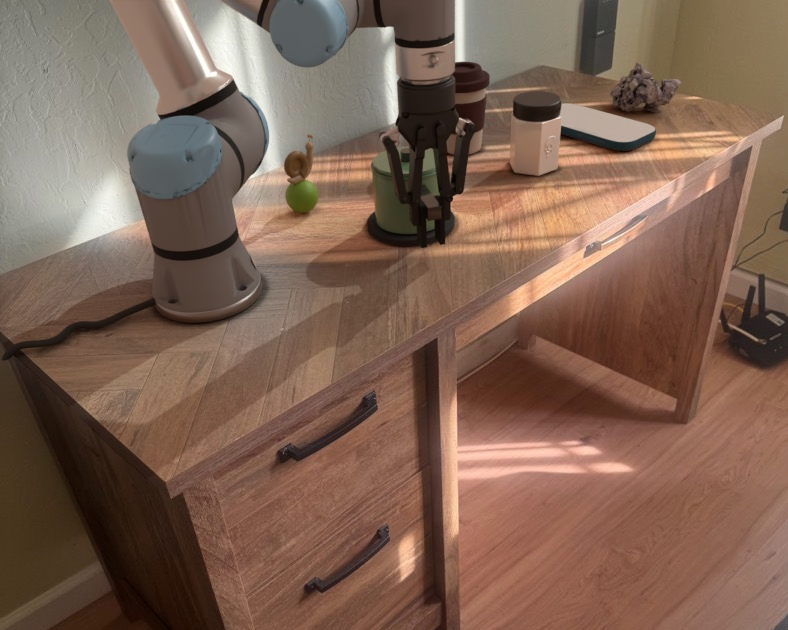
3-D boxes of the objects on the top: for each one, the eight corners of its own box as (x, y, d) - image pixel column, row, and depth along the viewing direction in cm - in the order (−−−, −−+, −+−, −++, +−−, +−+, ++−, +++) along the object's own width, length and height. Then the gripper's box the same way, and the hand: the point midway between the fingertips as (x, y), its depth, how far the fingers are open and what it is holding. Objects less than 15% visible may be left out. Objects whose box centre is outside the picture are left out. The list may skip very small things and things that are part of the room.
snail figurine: (331, 207, 129) (322, 137, 122) (302, 221, 126) (292, 150, 118) (309, 199, 132) (300, 130, 125) (281, 212, 129) (269, 142, 121)
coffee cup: (497, 143, 147) (499, 61, 137) (473, 162, 140) (473, 77, 131) (451, 136, 151) (451, 56, 142) (426, 154, 145) (423, 71, 135)
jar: (529, 180, 133) (533, 110, 125) (499, 166, 138) (501, 98, 131) (567, 166, 136) (573, 98, 129) (536, 153, 142) (540, 87, 134)
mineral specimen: (687, 92, 152) (664, 47, 148) (655, 119, 150) (631, 74, 147) (647, 106, 163) (625, 64, 160) (617, 131, 161) (594, 90, 158)
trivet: (379, 252, 116) (379, 247, 115) (358, 214, 126) (358, 208, 126) (466, 236, 118) (466, 231, 118) (439, 200, 129) (439, 195, 128)
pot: (398, 263, 110) (393, 191, 104) (367, 209, 125) (361, 143, 118) (473, 249, 112) (473, 177, 105) (434, 197, 127) (432, 131, 120)
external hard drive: (661, 138, 144) (663, 127, 143) (624, 156, 139) (625, 145, 137) (563, 110, 159) (564, 100, 157) (526, 125, 153) (526, 115, 152)
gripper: (375, 93, 93) (388, 263, 108) (491, 76, 96) (488, 244, 111) (361, 76, 99) (375, 239, 114) (471, 60, 102) (470, 222, 117)
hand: (431, 241), depth 112 cm, fingers closed on pot, 2 cm apart
